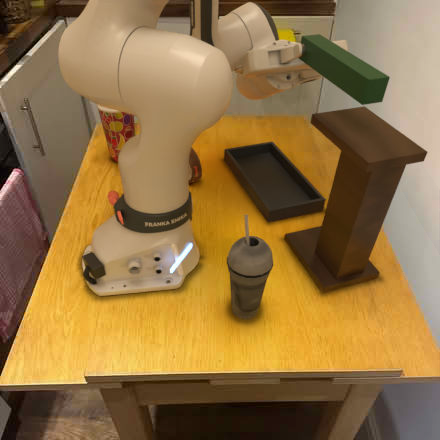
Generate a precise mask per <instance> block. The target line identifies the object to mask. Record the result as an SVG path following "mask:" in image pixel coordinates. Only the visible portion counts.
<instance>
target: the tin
mask: <svg viewBox="0 0 440 440" xmlns="http://www.w3.org/2000/svg"><path fill="white" fill-rule="evenodd" d="M202 167H203V166H202V163H201V160H200V158H199V155H198V153H197V152H196V150H195V149H194V148H193V147H192V148H191V151H190V155H189V175H188V178H189V184H191V183H194V182H196V181H200V180H201V179H202V177H203V168H202Z"/></svg>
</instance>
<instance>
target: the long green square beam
mask: <svg viewBox="0 0 440 440" xmlns="http://www.w3.org/2000/svg"><path fill="white" fill-rule="evenodd" d="M331 41H332V40H330V39H328V38H327V37H325V36H323V35H321V34H320V33H318V34H307V35H301V38H300V43H301V44H303V43H305V44H306V50H307V53H306V55H305V56H303V57H299V59H300V60H301V61H303V62H304V63H305V64H307V65H308V66H310V67H311V68H312V69H314V70H315V71H316V72H318V73H319V74H321V75H322V77H323V78H325V79H326V80H327V81H329V82H330V83H331V84H333V85H334V86H335V87H336V88H338V89H339V90H341V91H342V92H343V93H345V94H346V95H348V96H349V97H351V98H352V99H353V100H355V101H356V102H358V103H359V104H360V105H361V106H365V105H372V104H379V103H383V101H384V98H385V94H386V91H387V87H388V85H389V81H390V79H391V78H390V76H389V75H387V74H386V73H384V72H382V71H381V70H379V69H378V68H377V67H374V66H373V65H371V64H369V63H367V62H366V61H364V60H363V59H361V58H360V57H358V56H356V55H355V54H353V53H351V52H349V50H348V51H346V50H345V49H343V48H341V47H340V46H338V45H336V44H335V43H333V42H331Z"/></svg>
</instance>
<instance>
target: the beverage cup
mask: <svg viewBox="0 0 440 440" xmlns="http://www.w3.org/2000/svg"><path fill="white" fill-rule="evenodd" d="M243 216H244V233H245V234H244V235H245V236H242V237H240V238H238V239H237V240H236V241H235V242H234V243H233V244H232V245H231V247H230V249H229V251H228V254H227V256H226V265H227V269H228V274H229V284H230V287H229V288H230V301H231V311H232V313H233V315H234V316H235V317H236V318H238V319H242V320H250V319H253V318H255V317H256V315H257V314H258V312H259V309H260V306H261V303H262V299H263V296H264V292H265V288H266V285H267V281H268V279H269V276H270V273H271V271H272V269H273V267H274V259H273V251H272V249H271V247H270V245H269V243H267V242H266V241H265V240H264V239H263V238H261V237H258V236H255V235H250V228H249V227H250V226H249V215H248V214H244V215H243Z"/></svg>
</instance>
